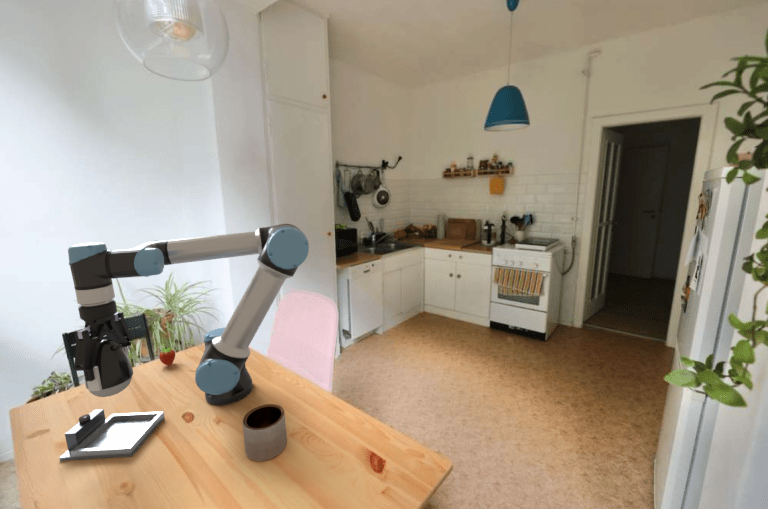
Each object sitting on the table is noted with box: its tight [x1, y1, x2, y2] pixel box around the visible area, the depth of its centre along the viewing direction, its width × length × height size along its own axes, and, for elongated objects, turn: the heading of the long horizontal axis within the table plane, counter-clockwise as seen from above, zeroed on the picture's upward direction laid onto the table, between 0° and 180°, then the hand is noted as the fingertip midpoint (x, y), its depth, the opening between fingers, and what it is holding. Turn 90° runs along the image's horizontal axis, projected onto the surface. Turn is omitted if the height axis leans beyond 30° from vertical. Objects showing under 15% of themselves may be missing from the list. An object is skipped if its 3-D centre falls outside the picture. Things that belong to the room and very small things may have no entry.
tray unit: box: [59, 408, 165, 462], centre depth 94 cm, size 18×15×7 cm
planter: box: [242, 403, 288, 462], centre depth 90 cm, size 11×11×10 cm
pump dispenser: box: [84, 338, 134, 398], centre depth 90 cm, size 10×10×15 cm
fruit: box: [158, 346, 176, 367], centre depth 134 cm, size 5×5×8 cm
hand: (110, 378), depth 91 cm, fingers closed on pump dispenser, 10 cm apart
